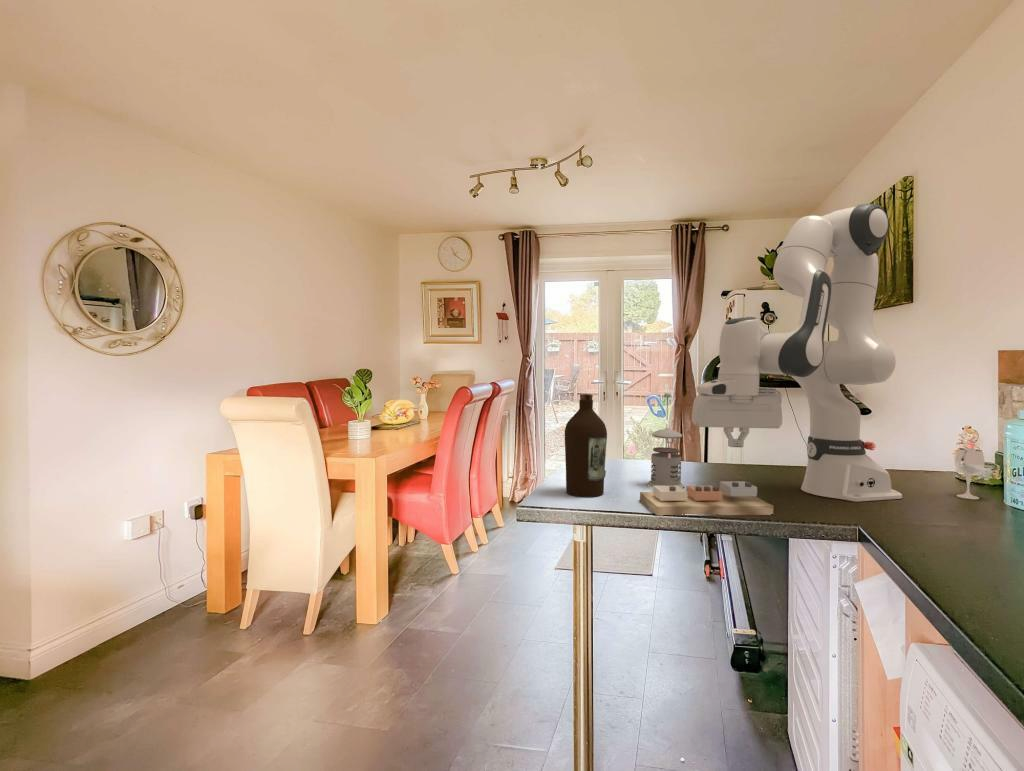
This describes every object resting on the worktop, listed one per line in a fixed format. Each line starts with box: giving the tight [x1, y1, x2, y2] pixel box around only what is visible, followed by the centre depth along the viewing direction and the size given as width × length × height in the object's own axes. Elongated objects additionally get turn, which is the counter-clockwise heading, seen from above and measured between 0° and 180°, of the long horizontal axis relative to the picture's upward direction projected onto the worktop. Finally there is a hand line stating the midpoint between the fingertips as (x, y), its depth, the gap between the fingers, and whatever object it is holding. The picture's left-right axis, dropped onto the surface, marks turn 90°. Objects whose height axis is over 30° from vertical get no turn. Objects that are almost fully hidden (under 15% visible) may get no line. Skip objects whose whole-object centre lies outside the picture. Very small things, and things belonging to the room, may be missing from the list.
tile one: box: [652, 486, 687, 501], centre depth 127 cm, size 6×6×3 cm
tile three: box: [685, 485, 723, 501], centre depth 128 cm, size 6×6×3 cm
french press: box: [647, 392, 685, 489], centre depth 150 cm, size 10×12×25 cm
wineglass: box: [954, 447, 986, 500], centre depth 139 cm, size 6×6×12 cm
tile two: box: [719, 480, 758, 497], centre depth 128 cm, size 6×6×3 cm
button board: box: [639, 491, 774, 517], centre depth 128 cm, size 26×13×2 cm, turn 93°
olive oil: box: [564, 393, 608, 498], centre depth 140 cm, size 11×11×25 cm
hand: (735, 447), depth 129 cm, fingers closed
